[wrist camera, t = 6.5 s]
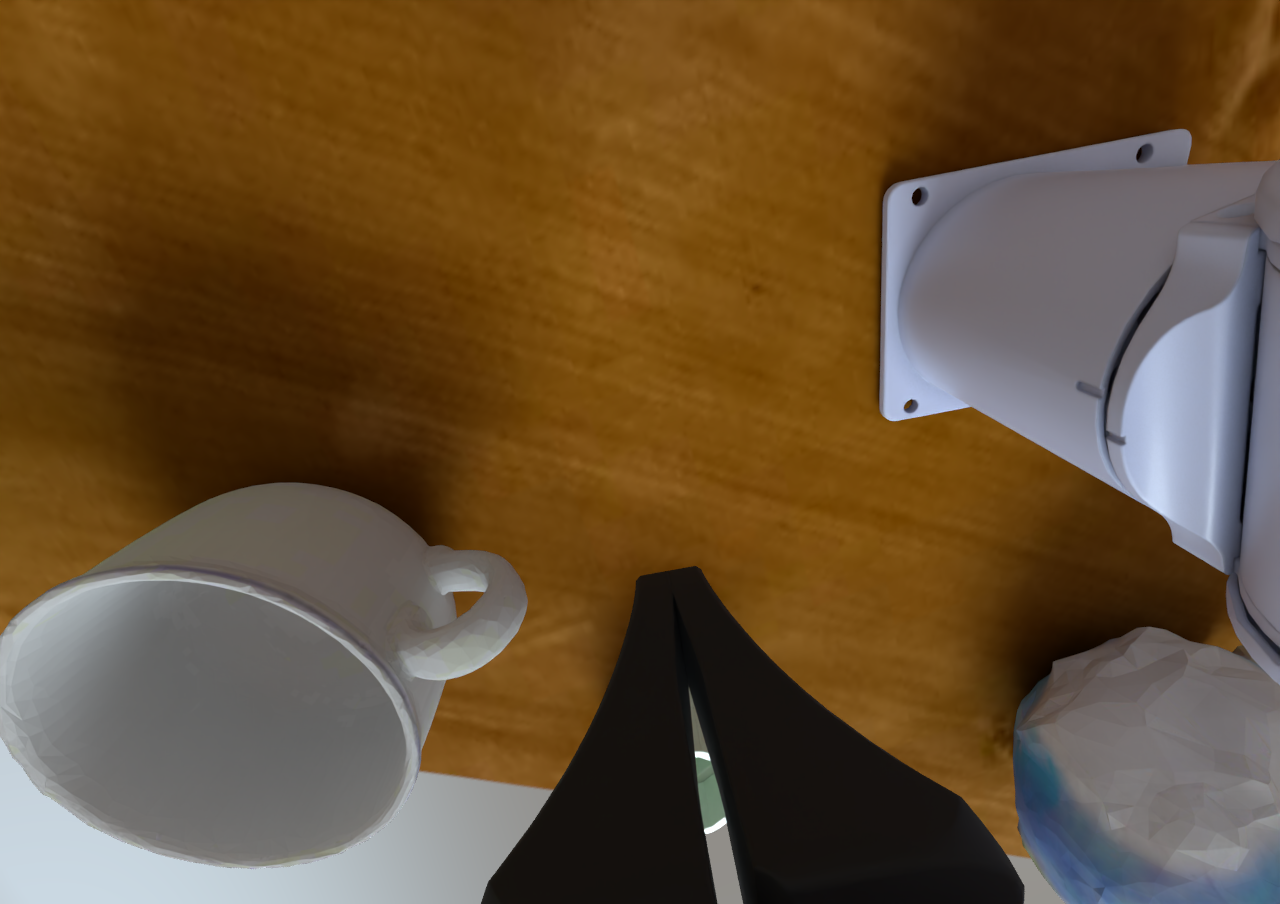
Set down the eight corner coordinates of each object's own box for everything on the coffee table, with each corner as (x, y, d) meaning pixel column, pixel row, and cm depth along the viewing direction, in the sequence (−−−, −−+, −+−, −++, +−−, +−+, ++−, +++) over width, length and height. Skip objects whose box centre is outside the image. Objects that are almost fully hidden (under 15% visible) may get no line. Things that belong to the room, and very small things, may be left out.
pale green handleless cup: (717, 650, 25) (741, 738, 21) (730, 734, 28) (753, 827, 24) (596, 673, 25) (597, 765, 21) (619, 755, 28) (624, 851, 24)
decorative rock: (1568, 1102, 11) (1250, 1256, 18) (1800, 778, 16) (1478, 998, 23) (972, 637, 23) (916, 839, 30) (1210, 529, 28) (1114, 725, 35)
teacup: (260, 687, 24) (118, 899, 17) (122, 468, 19) (-156, 633, 12) (576, 632, 24) (570, 820, 17) (515, 401, 20) (469, 525, 12)
